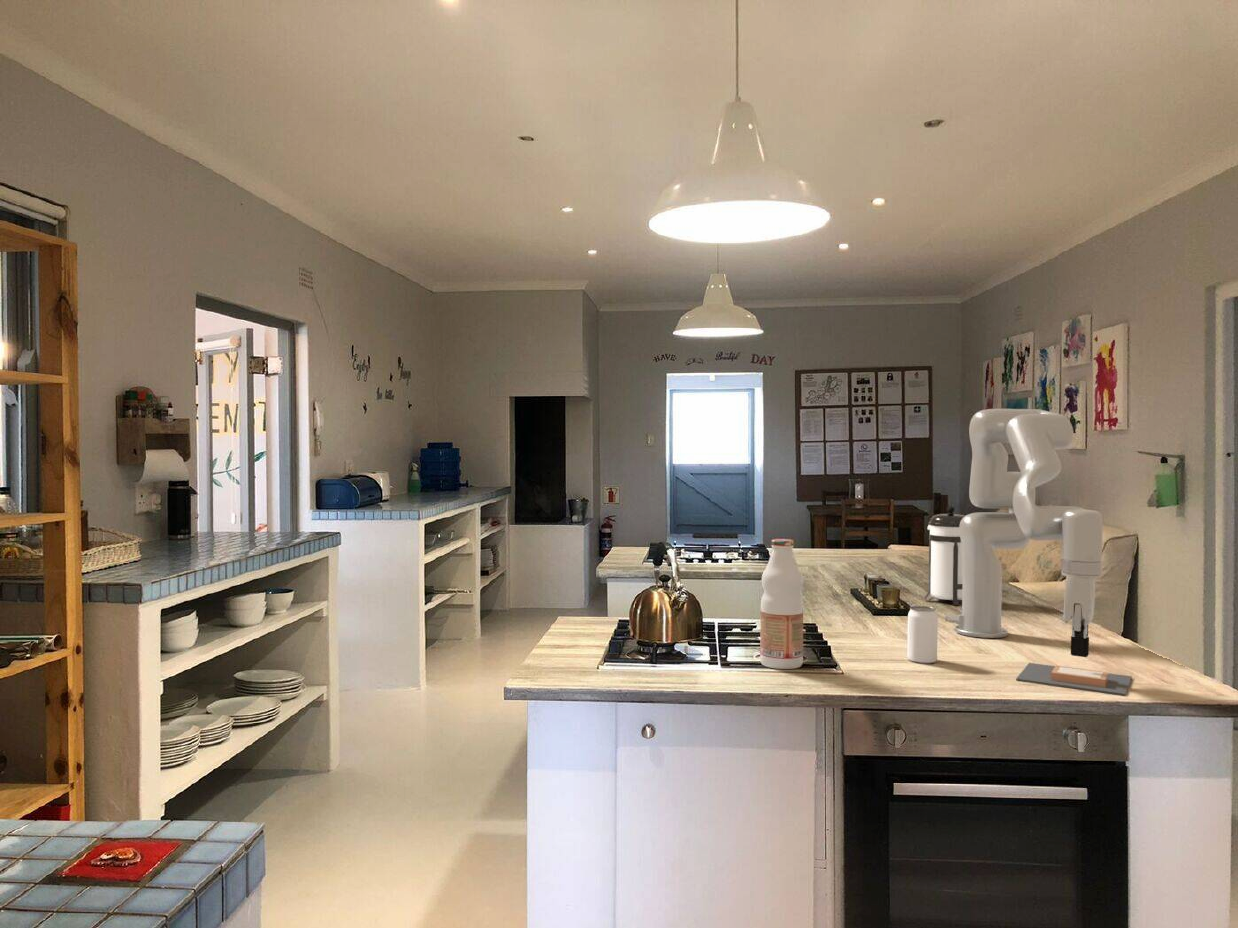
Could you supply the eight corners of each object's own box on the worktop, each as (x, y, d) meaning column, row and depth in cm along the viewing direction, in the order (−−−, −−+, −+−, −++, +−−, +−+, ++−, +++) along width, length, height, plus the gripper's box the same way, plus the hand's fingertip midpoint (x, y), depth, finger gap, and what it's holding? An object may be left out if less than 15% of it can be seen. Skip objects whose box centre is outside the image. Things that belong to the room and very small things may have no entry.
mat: (1016, 680, 187) (1016, 678, 187) (1029, 664, 200) (1029, 662, 200) (1125, 695, 176) (1125, 693, 176) (1131, 678, 189) (1131, 676, 189)
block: (1055, 672, 192) (1051, 679, 186) (1056, 665, 192) (1051, 672, 186) (1108, 679, 186) (1105, 687, 181) (1108, 672, 186) (1105, 679, 180)
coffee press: (929, 605, 271) (930, 507, 271) (920, 596, 287) (921, 503, 286) (989, 607, 269) (990, 508, 268) (976, 598, 284) (978, 504, 283)
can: (936, 658, 206) (937, 606, 206) (937, 664, 200) (938, 611, 199) (907, 655, 208) (908, 604, 208) (906, 662, 202) (907, 609, 202)
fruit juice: (763, 669, 195) (765, 542, 194) (757, 659, 204) (758, 537, 203) (806, 670, 195) (808, 542, 194) (798, 659, 204) (799, 537, 203)
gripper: (1066, 563, 195) (1064, 646, 195) (1056, 571, 183) (1054, 660, 183) (1105, 566, 191) (1103, 651, 191) (1097, 574, 178) (1095, 665, 179)
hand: (1079, 655), depth 187 cm, fingers closed
